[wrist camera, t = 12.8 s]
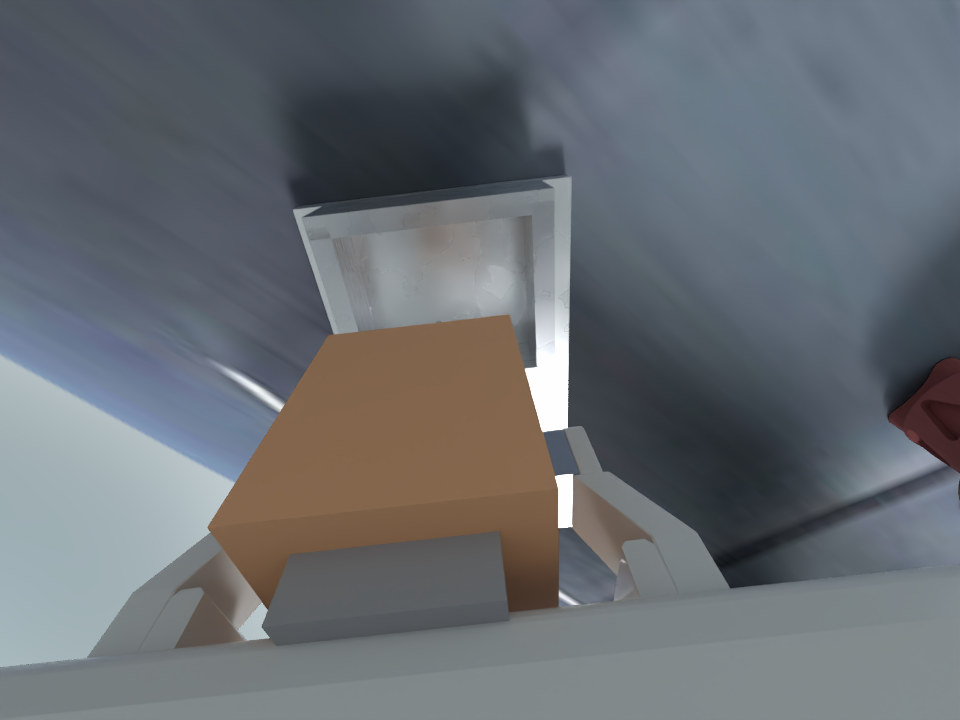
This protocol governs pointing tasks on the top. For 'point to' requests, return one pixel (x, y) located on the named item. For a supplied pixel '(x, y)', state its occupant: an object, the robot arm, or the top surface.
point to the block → (399, 489)
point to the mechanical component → (935, 414)
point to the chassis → (455, 267)
